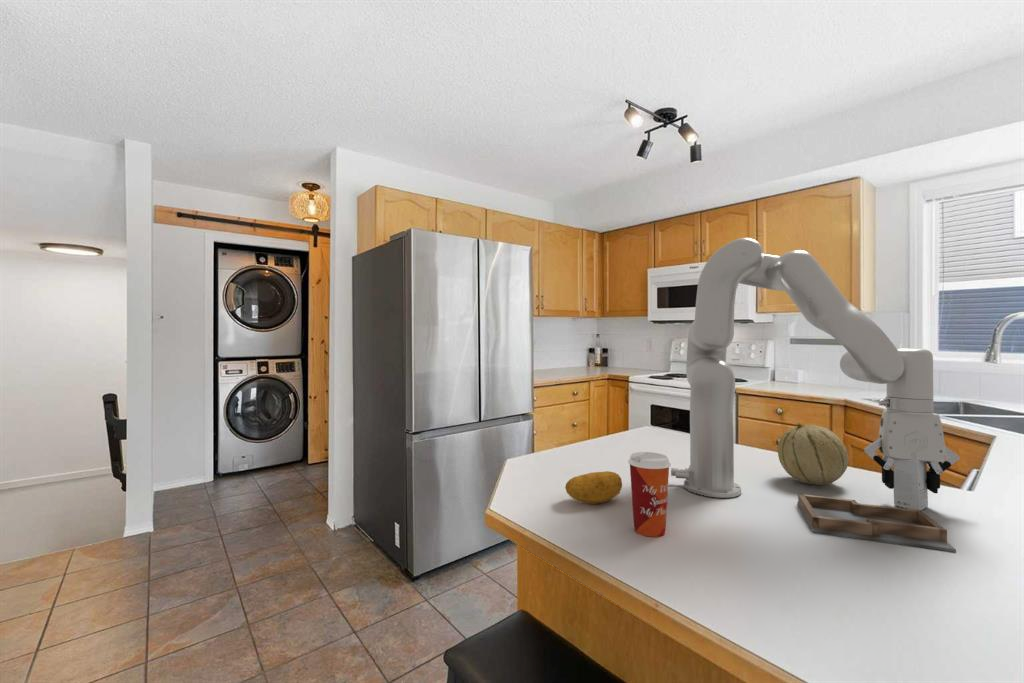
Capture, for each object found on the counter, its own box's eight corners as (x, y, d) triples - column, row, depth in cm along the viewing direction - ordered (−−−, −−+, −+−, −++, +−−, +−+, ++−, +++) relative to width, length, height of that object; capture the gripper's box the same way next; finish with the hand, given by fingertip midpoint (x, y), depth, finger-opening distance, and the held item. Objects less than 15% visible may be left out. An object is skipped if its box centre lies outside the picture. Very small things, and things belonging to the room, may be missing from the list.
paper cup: (649, 543, 78) (648, 463, 78) (619, 527, 85) (619, 454, 85) (681, 534, 82) (680, 458, 82) (650, 519, 88) (649, 449, 88)
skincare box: (919, 512, 92) (919, 453, 92) (892, 505, 95) (891, 449, 95) (929, 506, 95) (928, 449, 95) (902, 500, 99) (901, 445, 99)
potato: (631, 504, 97) (631, 473, 97) (575, 512, 92) (575, 479, 92) (611, 492, 104) (611, 464, 104) (559, 500, 100) (558, 470, 100)
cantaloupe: (865, 491, 105) (864, 427, 105) (810, 494, 102) (809, 429, 102) (813, 473, 119) (812, 417, 119) (764, 476, 117) (763, 419, 117)
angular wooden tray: (813, 532, 82) (813, 518, 82) (797, 503, 97) (797, 492, 97) (956, 552, 74) (955, 537, 74) (914, 517, 89) (914, 505, 89)
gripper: (865, 406, 95) (866, 489, 95) (972, 410, 88) (973, 500, 88) (854, 401, 102) (855, 479, 102) (953, 405, 95) (954, 489, 95)
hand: (910, 488), depth 95 cm, fingers closed on skincare box, 6 cm apart
